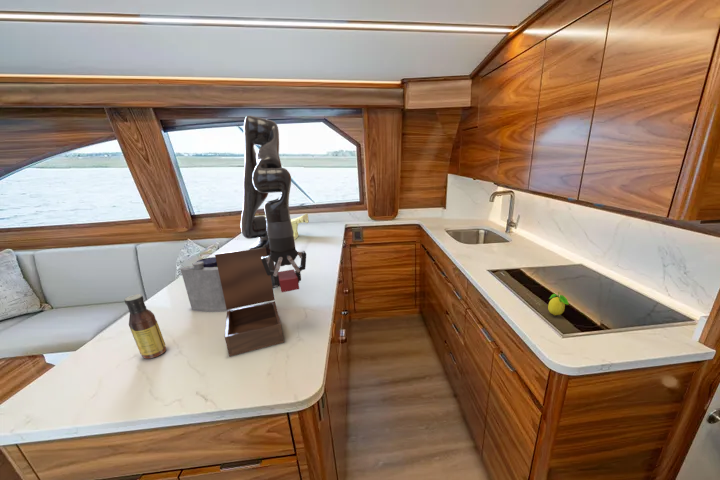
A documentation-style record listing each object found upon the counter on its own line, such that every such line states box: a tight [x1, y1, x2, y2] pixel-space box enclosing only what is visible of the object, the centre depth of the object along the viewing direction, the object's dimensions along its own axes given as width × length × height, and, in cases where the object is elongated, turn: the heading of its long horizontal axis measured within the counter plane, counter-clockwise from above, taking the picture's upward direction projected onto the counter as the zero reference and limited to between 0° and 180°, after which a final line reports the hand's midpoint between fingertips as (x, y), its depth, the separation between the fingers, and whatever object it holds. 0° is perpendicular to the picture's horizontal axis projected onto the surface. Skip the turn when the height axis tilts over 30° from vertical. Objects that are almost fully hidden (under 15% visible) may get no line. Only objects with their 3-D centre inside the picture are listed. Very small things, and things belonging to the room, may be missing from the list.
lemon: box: [547, 292, 569, 317], centre depth 110 cm, size 7×6×10 cm
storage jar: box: [196, 256, 217, 267], centre depth 134 cm, size 10×10×15 cm
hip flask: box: [180, 261, 230, 312], centre depth 117 cm, size 16×4×20 cm, turn 84°
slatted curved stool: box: [263, 212, 310, 241], centre depth 227 cm, size 30×16×18 cm, turn 93°
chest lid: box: [214, 248, 276, 311], centre depth 107 cm, size 20×16×5 cm
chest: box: [224, 300, 285, 357], centre depth 101 cm, size 19×16×7 cm
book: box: [278, 268, 300, 293], centre depth 99 cm, size 9×6×4 cm, turn 26°
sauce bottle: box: [123, 293, 167, 360], centre depth 89 cm, size 6×6×20 cm
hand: (288, 283), depth 99 cm, fingers closed on book, 5 cm apart
